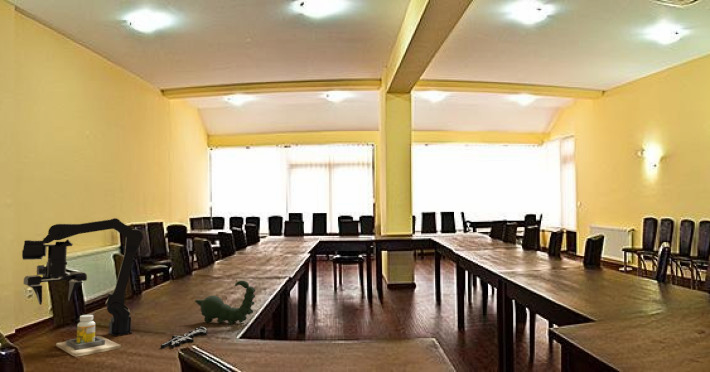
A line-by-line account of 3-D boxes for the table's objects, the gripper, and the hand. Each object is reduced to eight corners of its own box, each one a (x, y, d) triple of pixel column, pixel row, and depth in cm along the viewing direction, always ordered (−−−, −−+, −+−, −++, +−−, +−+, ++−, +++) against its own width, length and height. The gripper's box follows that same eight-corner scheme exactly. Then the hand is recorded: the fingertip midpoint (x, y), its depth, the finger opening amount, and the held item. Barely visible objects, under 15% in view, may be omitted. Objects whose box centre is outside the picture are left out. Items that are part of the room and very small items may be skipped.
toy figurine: (254, 325, 206) (197, 318, 208) (258, 280, 206) (202, 273, 209) (247, 330, 196) (187, 323, 199) (252, 283, 197) (193, 276, 200)
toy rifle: (190, 326, 191) (215, 327, 190) (190, 330, 191) (215, 331, 190) (153, 344, 164) (182, 346, 163) (153, 349, 164) (181, 350, 163)
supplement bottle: (97, 344, 164) (98, 315, 165) (81, 347, 160) (82, 318, 160) (89, 341, 167) (90, 313, 168) (73, 345, 163) (74, 316, 163)
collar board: (100, 338, 175) (100, 331, 176) (120, 348, 163) (121, 340, 164) (56, 346, 165) (56, 338, 165) (75, 357, 153) (75, 349, 153)
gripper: (77, 255, 187) (75, 296, 186) (20, 258, 173) (18, 303, 172) (88, 257, 180) (86, 300, 179) (29, 261, 166) (27, 307, 165)
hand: (55, 302), depth 174 cm, fingers open, 9 cm apart
